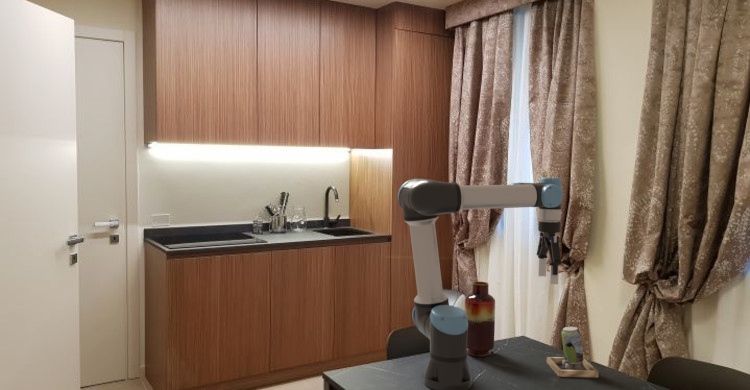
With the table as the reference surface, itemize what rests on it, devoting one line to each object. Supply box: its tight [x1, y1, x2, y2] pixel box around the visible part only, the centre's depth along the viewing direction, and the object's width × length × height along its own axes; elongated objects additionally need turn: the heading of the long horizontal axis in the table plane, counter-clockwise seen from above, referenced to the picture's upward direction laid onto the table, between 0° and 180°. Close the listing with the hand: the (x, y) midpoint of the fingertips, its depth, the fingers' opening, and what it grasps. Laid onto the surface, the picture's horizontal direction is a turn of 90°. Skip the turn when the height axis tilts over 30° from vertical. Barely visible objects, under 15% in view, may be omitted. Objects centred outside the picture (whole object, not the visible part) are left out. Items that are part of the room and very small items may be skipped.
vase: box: [464, 281, 496, 358], centre depth 198 cm, size 11×11×26 cm
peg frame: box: [546, 356, 599, 378], centre depth 183 cm, size 13×13×2 cm
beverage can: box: [561, 326, 584, 364], centre depth 182 cm, size 6×7×12 cm
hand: (547, 280), depth 192 cm, fingers open, 13 cm apart
